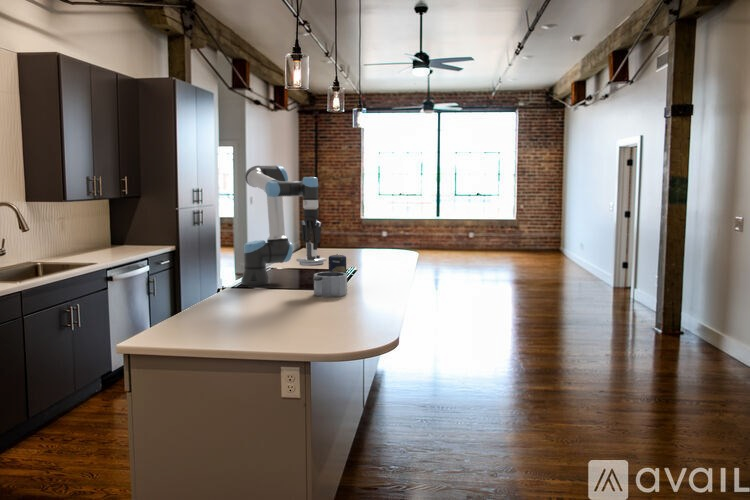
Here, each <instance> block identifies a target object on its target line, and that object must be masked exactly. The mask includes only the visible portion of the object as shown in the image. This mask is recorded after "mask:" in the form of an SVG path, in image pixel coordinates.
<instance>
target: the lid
mask: <svg viewBox="0 0 750 500" xmlns="http://www.w3.org/2000/svg"><path fill="white" fill-rule="evenodd" d="M295 261H296V262H299V266H303V267H314V266H315V267H317V266H323V265H324V262H326V261H327V258H326V257H321V256H320V255H319V254H318V255H317V256H314V257H312V254H311V242H309V243H307V256H306V257H299V258H296V260H295Z"/></svg>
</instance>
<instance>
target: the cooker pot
mask: <svg viewBox="0 0 750 500" xmlns="http://www.w3.org/2000/svg"><path fill="white" fill-rule="evenodd" d="M312 281H313V295H315V296H316V297H321V298H338V297H344V296H346V295H348V272H347V273H342V272H329V271H321V272H316V273H314V274H313V278H312Z"/></svg>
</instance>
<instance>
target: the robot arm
mask: <svg viewBox="0 0 750 500" xmlns="http://www.w3.org/2000/svg"><path fill="white" fill-rule="evenodd" d="M244 180H245V182H246V185H248V186H250V187H252V188H258V189H260V190H262V191H264V192H265V194H266V200H267V201H266V204H267V205H266V206H267V219H268V233H269V234H268V235H269V237H268V238H267V239H266V240H263V239H259V240H252V241H248V242H246V243H244V245H243V261H244V262H243V266H244V270H243V274H242V278H241V283H240V284H241V285H242V286H249V287H250V286H252V287H255V286H259V287H260V286H266V285H268V284H270V277H269V275H268V271H267V265H269V264H279V263H280V264H283V263H287V262H289V261H290V260H291V259H292V256H293V250H294V249H293V244H292V242H291V241H290V240H289V238H288V237H287V235H286V229H285V228H286V227H285V215H284V200H283V197H302V208H303V209H302V216H303V217H304V218H303V220H302V221H300V228H301V238H302V240H301V241H302V242H304V243H305V250H306V251H305V252H306V257H307V243H311V254H312V257H314V256H317V253H318V252H317V251H318V244H319V243H320V242H321V238H322V237H321V236H322V235H321V234H322V225H323V223H322V221H321V222H320V221H319V219H318V217H319V181H318V180H319V179H318V177H315V176H309V177H308V176H303V178H302V180H297V181H296V180H295V181H294V180H292V181H291V180H289V176H288V172H287V170H286V169H285V167H283V166H281V165H254V166H251V167H250V168H248V169H247V170H246V172H245V175H244Z"/></svg>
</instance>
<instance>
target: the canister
mask: <svg viewBox="0 0 750 500" xmlns="http://www.w3.org/2000/svg"><path fill="white" fill-rule="evenodd" d="M347 271H348V270H347V256H346V255H343V254H337V253H336V254H332V255H329V256H328V272H342V273H347V274H348V272H347Z"/></svg>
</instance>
